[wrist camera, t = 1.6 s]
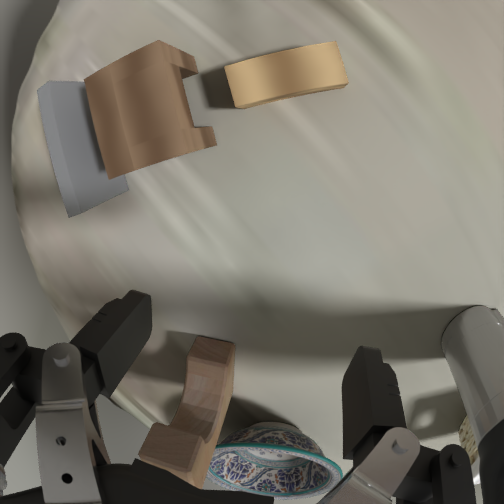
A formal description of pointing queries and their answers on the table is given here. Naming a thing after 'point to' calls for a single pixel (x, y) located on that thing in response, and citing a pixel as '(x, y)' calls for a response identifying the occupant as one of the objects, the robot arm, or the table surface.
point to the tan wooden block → (286, 74)
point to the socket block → (144, 109)
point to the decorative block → (195, 414)
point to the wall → (75, 147)
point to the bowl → (273, 463)
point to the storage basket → (470, 448)
